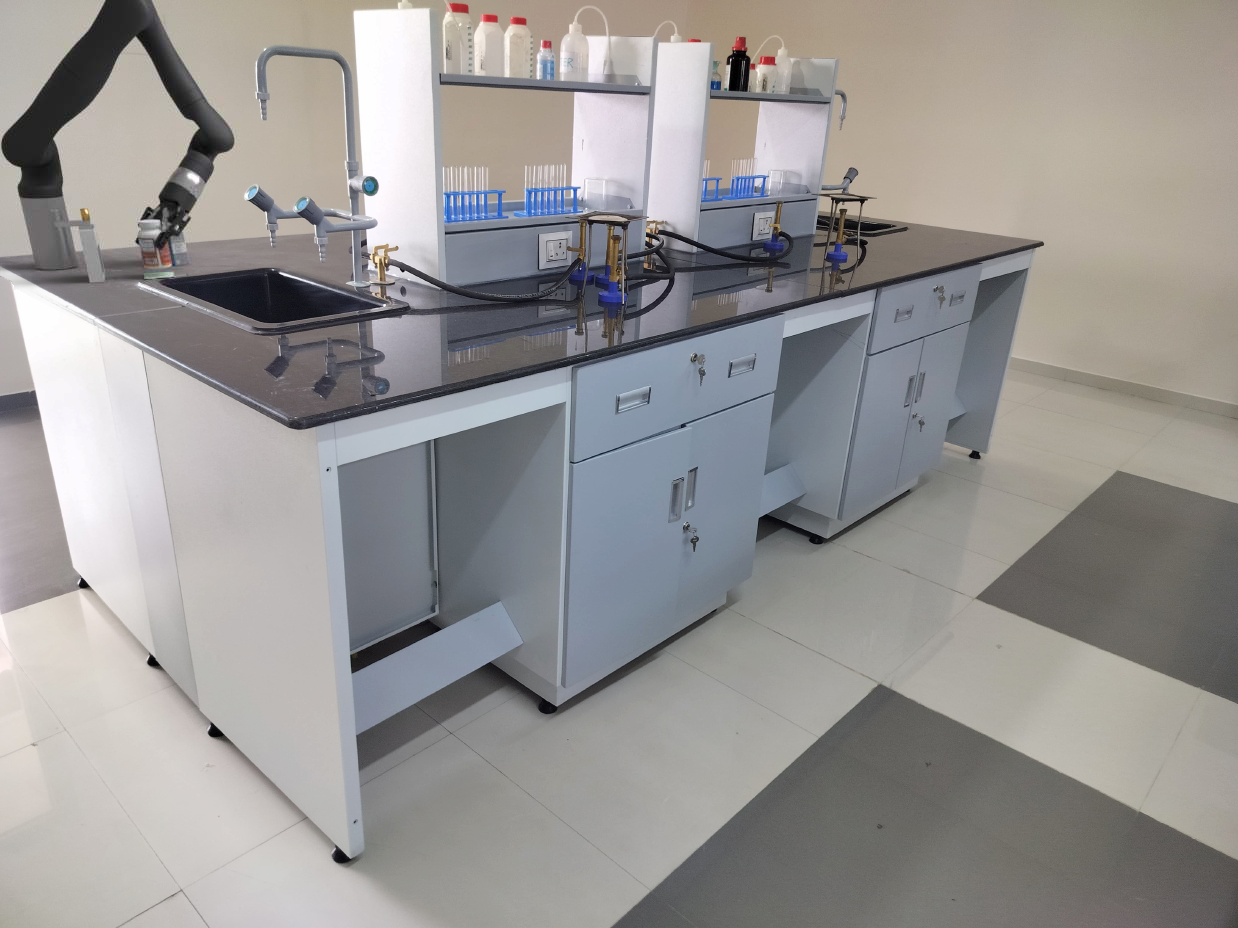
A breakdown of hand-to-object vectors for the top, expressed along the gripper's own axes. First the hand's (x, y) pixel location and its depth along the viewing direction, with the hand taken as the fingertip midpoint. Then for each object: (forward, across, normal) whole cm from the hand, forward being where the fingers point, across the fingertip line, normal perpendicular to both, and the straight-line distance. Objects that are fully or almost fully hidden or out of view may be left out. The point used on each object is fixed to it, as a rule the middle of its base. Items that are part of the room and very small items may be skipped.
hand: (148, 246), depth 208 cm
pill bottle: (+3, 0, +5) cm, 6 cm away
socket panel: (+11, -9, -1) cm, 14 cm away
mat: (+4, 0, +6) cm, 8 cm away
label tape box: (-5, -13, +16) cm, 21 cm away
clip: (+4, -9, -12) cm, 15 cm away
